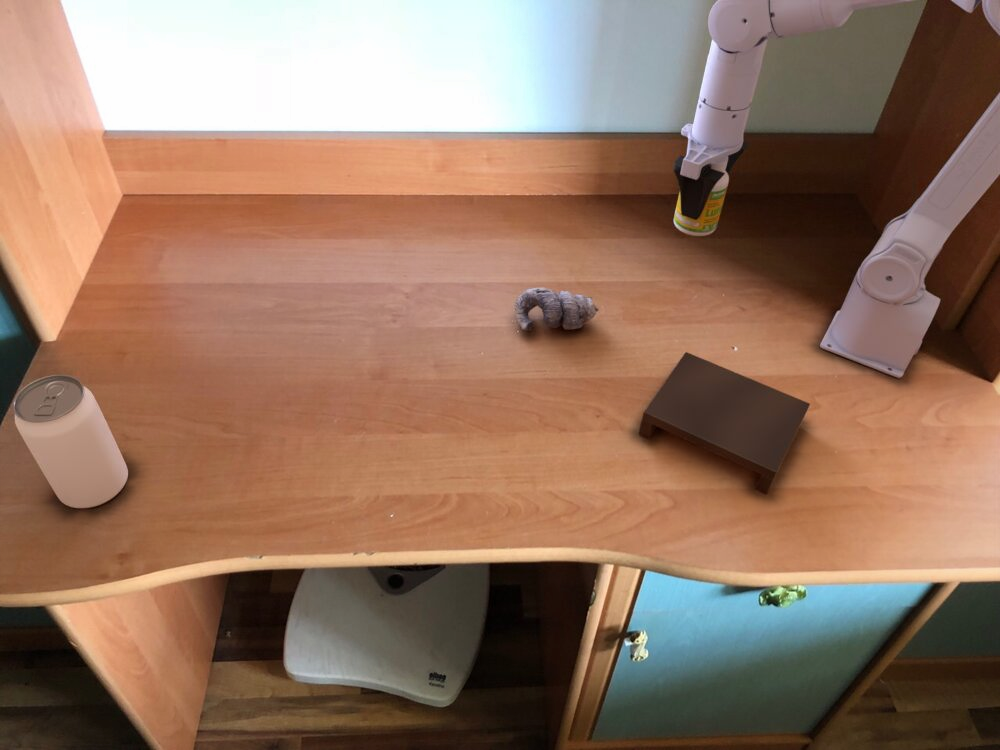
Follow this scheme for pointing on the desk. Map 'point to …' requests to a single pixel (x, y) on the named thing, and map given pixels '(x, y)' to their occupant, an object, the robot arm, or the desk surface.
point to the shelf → (727, 415)
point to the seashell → (555, 308)
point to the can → (70, 440)
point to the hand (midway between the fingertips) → (699, 205)
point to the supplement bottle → (706, 206)
